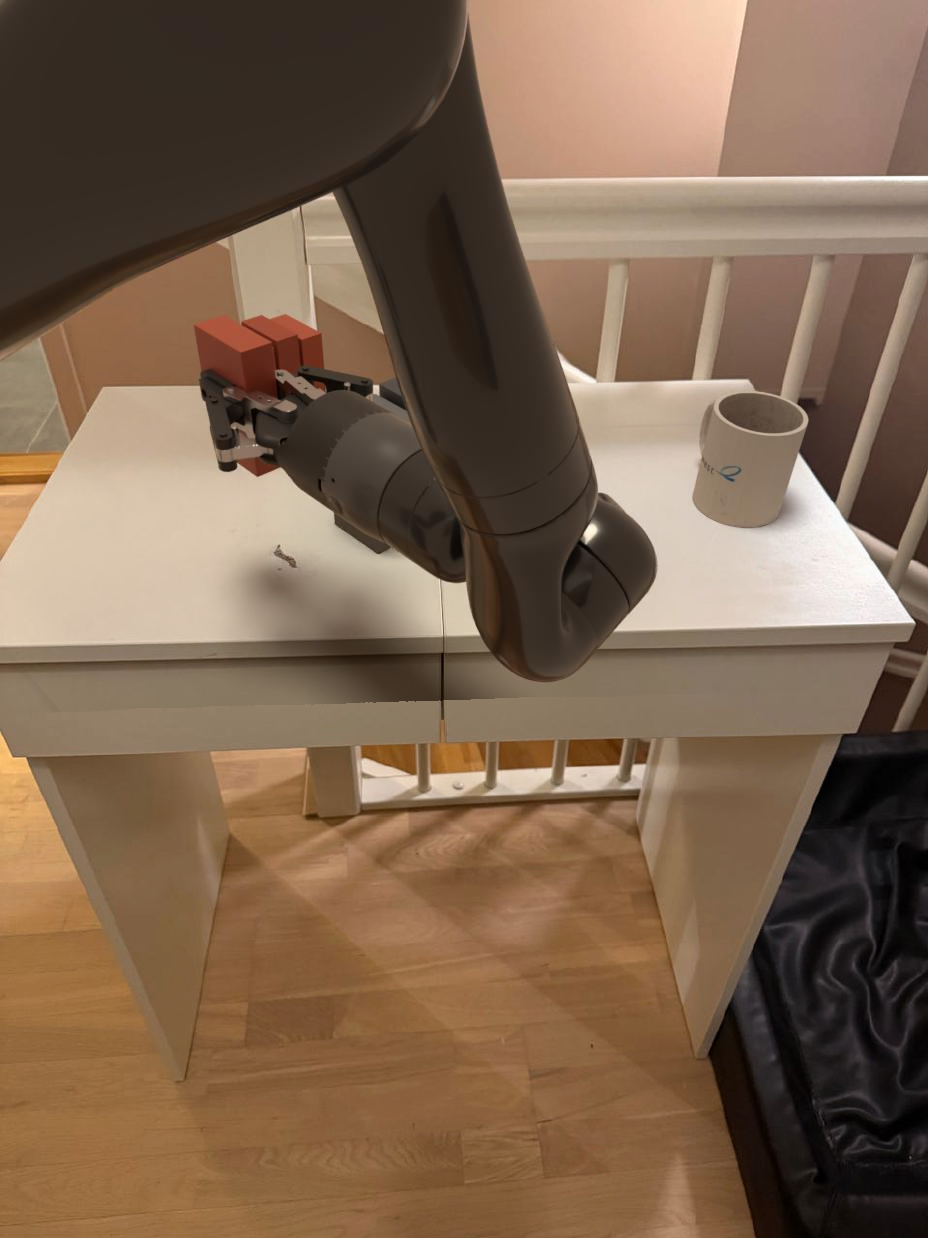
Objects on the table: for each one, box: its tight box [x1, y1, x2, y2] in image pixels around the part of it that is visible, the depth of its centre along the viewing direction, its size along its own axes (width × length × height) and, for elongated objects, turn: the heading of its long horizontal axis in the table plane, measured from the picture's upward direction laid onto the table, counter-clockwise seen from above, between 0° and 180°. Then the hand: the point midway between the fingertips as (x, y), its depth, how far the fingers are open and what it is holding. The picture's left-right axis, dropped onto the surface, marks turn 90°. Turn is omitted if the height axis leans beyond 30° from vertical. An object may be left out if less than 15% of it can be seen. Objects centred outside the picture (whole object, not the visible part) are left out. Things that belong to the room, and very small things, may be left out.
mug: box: [692, 390, 809, 528], centre depth 88 cm, size 12×9×10 cm
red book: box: [193, 315, 281, 478], centre depth 67 cm, size 3×6×10 cm, turn 44°
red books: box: [240, 313, 326, 393], centre depth 96 cm, size 9×6×10 cm
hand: (224, 376), depth 67 cm, fingers closed on red book, 2 cm apart
